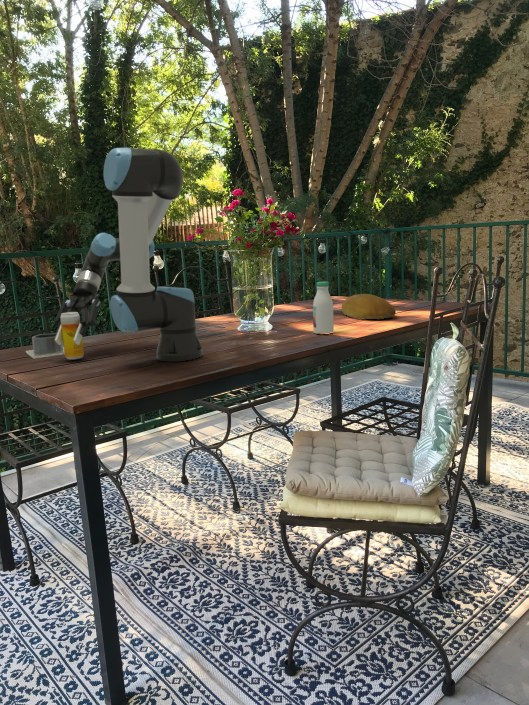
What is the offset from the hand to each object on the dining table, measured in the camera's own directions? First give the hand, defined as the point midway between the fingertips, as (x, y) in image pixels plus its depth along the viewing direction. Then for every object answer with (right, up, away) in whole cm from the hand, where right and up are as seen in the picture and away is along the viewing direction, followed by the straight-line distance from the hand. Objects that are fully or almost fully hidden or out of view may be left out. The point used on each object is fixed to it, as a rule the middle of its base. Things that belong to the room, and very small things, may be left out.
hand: (67, 342), depth 188 cm
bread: (+111, +13, +77) cm, 136 cm away
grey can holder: (-13, -4, +19) cm, 24 cm away
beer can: (+1, -5, +5) cm, 7 cm away
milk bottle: (+87, +4, +36) cm, 94 cm away
